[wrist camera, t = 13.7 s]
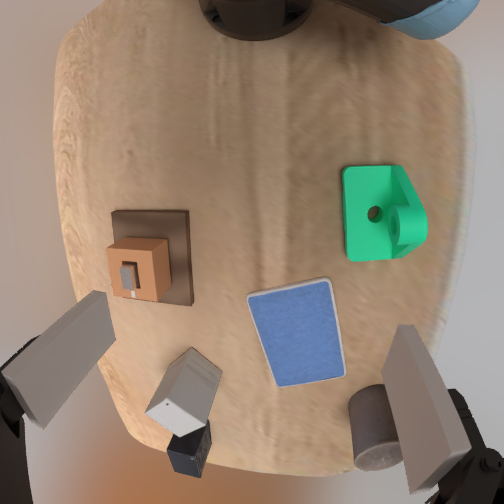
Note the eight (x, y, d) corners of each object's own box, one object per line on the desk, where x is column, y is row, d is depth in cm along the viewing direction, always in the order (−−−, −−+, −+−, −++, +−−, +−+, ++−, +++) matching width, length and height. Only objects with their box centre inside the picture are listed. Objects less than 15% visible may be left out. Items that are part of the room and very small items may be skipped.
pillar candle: (404, 386, 45) (424, 447, 31) (381, 418, 48) (393, 477, 34) (360, 381, 46) (372, 447, 32) (339, 414, 49) (343, 477, 35)
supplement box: (168, 364, 50) (142, 412, 38) (192, 345, 47) (166, 397, 36) (199, 388, 51) (178, 438, 39) (224, 371, 48) (206, 426, 37)
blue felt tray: (346, 372, 46) (347, 377, 45) (276, 384, 49) (275, 389, 47) (329, 273, 41) (330, 277, 39) (244, 292, 43) (243, 296, 42)
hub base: (116, 210, 41) (82, 224, 33) (188, 210, 40) (163, 226, 32) (127, 293, 46) (100, 318, 38) (194, 301, 44) (174, 332, 36)
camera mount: (339, 166, 35) (356, 171, 26) (395, 164, 34) (427, 170, 24) (344, 255, 39) (359, 288, 29) (395, 251, 38) (423, 282, 28)
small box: (180, 413, 55) (164, 449, 45) (209, 418, 54) (196, 457, 44) (185, 438, 58) (173, 472, 48) (212, 444, 57) (201, 479, 48)
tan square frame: (124, 237, 40) (105, 248, 35) (167, 239, 39) (150, 251, 34) (130, 281, 42) (113, 296, 37) (171, 285, 42) (157, 302, 37)
